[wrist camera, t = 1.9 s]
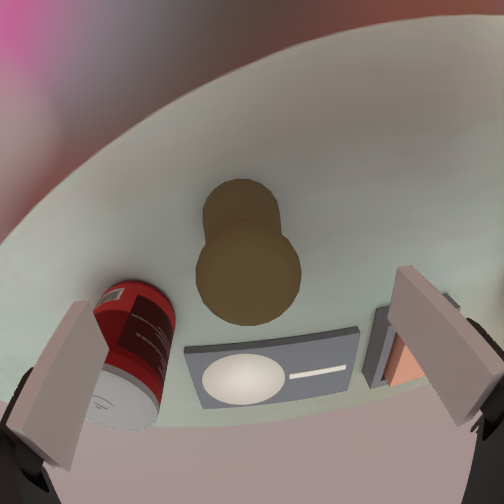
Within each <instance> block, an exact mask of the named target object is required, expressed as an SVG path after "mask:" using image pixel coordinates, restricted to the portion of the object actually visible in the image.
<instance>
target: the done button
mask: <svg viewBox="0 0 504 504" xmlns="http://www.w3.org/2000/svg"><path fill="white" fill-rule="evenodd" d="M383 375H384V377H385V379H386V381H387V383H388V385H389V387H391V386H394V385H397V384H401V383H404V382H407V381H410V380H413V379H416V378H419V377H422V376H425V373H424V372H423V370H422V369H421V367H420V366H419V364H418V363H417V361H416V360H415V358H414V357H413V355H412V354H411V352H410V351H409V349H408V348H407V346H406V345H405V343H404V342H403V340H402V339H401V337H400V336H399V334H398V333H397V332H396V333H395V337H394V340H393V344H392V347H391V350H390V354H389V357H388V360H387V363H386V366H385V369H384V372H383Z"/></svg>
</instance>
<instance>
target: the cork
mask: <svg viewBox="0 0 504 504" xmlns="http://www.w3.org/2000/svg"><path fill="white" fill-rule="evenodd" d="M203 226H204V232H205V239H206V245H205V246H204V247H203V249H202V250H201V253H200V256H199V259H198V262H197V266H196V285H197V289H198V291H199V294H200V296H201V298H202V301H203V303H204V304H205V305H206V306H207V307H208V308H209V309H210V311H211V312H212V313H213V314H215V315H216V316H218V317H220V318H221V319H223V320H225V321H226V322H229V323H232V324H236V325H240V326H256V325H260V324H264V323H268V322H270V321H272V320H273V319H275V318H277V317H279V316H280V315H281V314H282V313H284V312H285V311H286V310H287V309H288V308H289V307H290V305H291V304H292V303H293V301H294V299H295V297H296V296H297V294H298V292H299V288H300V282H301V267H300V262H299V257H298V255H297V253H296V251H295V250H294V248H293V247H292V245H291V244H290V242H289V240H288V239H287V238H285V237H284V236H283V235H282V233H281V223H280V214H279V209H278V205H277V201H276V199H275V198H274V196H273V195H272V193H271V192H270V191H269V190H268V189H267V188H266V187H264V186H263V185H262V184H260V183H258V182H255V181H252V180H249V179H235V180H231V181H228V182H224V183H223V184H221V185H220V186H218V187H217V188H215V189H214V190H213V191H212V193H211V194H210V195H209V197H208V198H207V200H206V203H205V205H204V208H203Z"/></svg>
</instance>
